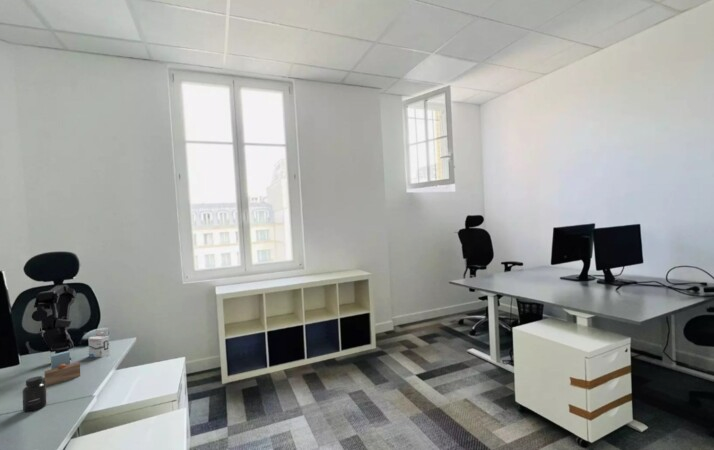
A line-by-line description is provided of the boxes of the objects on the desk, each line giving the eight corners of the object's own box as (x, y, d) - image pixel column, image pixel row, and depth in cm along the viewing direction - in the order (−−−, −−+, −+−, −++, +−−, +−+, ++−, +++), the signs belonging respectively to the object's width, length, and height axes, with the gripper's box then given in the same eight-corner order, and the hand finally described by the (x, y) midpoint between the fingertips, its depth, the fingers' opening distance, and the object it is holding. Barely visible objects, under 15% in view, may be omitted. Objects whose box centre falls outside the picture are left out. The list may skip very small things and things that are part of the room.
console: (42, 380, 154) (41, 363, 154) (75, 370, 164) (74, 355, 163) (46, 388, 146) (45, 370, 146) (80, 378, 155) (79, 361, 155)
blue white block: (51, 377, 154) (50, 354, 154) (69, 372, 159) (68, 350, 159) (52, 379, 152) (51, 356, 152) (70, 374, 157) (69, 352, 157)
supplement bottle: (31, 413, 126) (30, 383, 126) (18, 412, 128) (16, 382, 127) (51, 403, 133) (50, 375, 133) (38, 402, 134) (37, 374, 134)
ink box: (88, 359, 178) (87, 332, 178) (96, 355, 183) (95, 329, 183) (102, 359, 177) (101, 332, 177) (110, 355, 182) (109, 329, 182)
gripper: (72, 315, 163) (74, 345, 164) (66, 309, 175) (67, 338, 176) (42, 320, 155) (43, 352, 155) (38, 314, 167) (39, 344, 167)
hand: (50, 346), depth 163 cm, fingers closed
